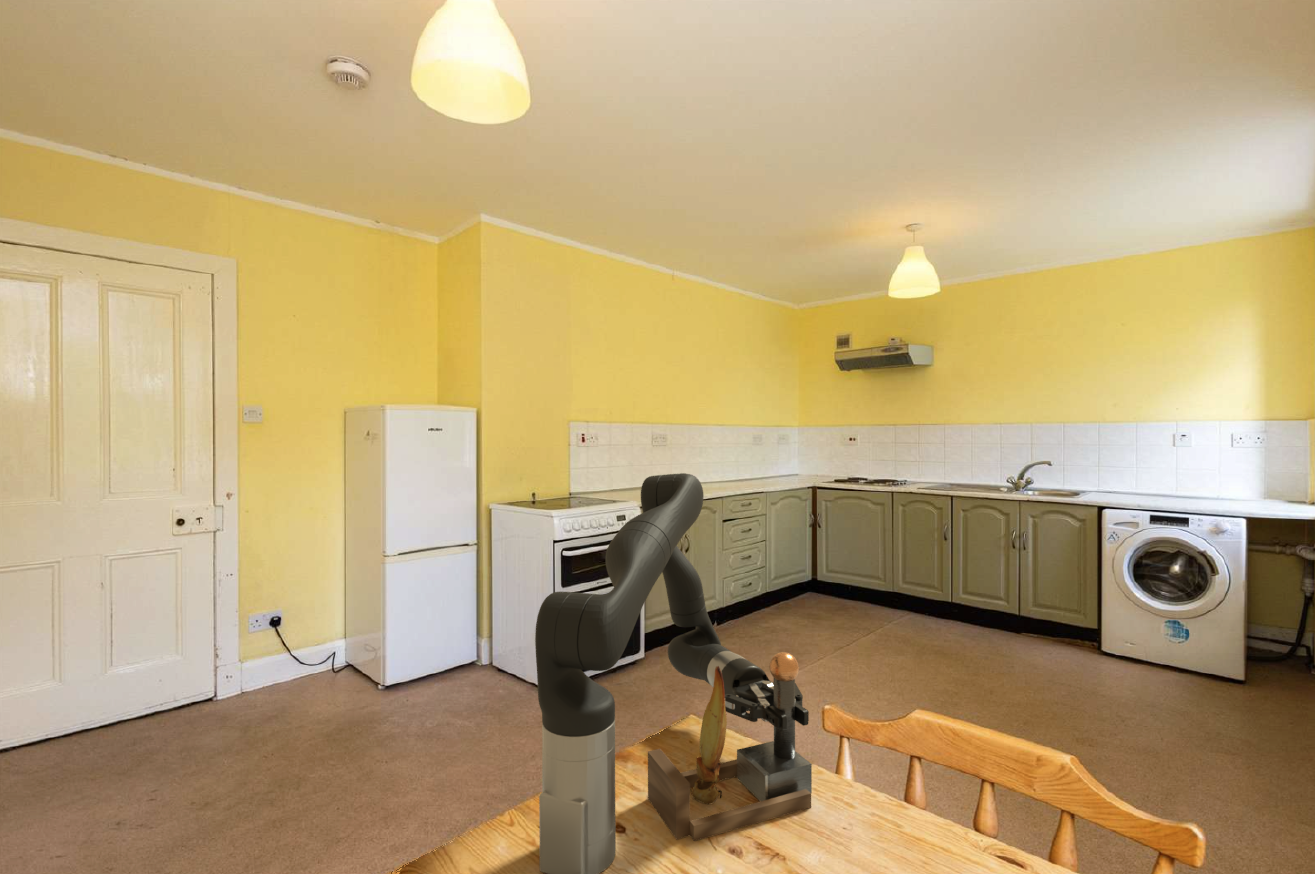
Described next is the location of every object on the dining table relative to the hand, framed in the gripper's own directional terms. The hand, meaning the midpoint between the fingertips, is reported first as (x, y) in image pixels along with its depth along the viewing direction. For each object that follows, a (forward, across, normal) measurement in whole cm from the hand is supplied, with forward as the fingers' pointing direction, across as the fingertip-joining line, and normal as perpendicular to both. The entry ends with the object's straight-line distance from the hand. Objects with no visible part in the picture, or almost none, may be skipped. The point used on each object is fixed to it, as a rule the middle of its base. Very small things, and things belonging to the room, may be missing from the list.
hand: (795, 721), depth 92 cm
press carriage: (-3, -2, +11) cm, 11 cm away
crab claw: (-3, -13, +11) cm, 17 cm away
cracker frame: (-3, -10, +11) cm, 15 cm away
